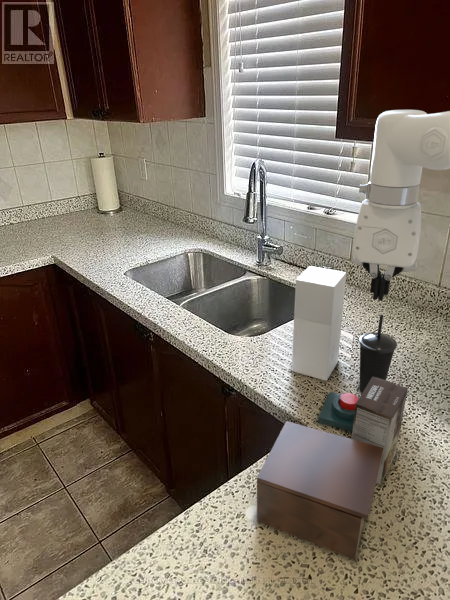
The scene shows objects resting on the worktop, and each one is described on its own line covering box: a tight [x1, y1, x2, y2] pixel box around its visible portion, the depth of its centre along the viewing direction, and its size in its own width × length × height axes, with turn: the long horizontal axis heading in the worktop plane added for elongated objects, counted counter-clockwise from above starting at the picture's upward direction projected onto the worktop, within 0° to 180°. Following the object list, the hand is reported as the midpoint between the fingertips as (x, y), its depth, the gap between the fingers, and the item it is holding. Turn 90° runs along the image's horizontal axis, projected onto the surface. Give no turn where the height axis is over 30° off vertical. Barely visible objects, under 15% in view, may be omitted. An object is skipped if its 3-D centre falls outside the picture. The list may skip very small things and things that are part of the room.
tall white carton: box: [291, 265, 347, 382], centre depth 104 cm, size 9×9×25 cm
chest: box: [256, 481, 366, 561], centre depth 72 cm, size 16×14×10 cm
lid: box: [256, 420, 384, 520], centre depth 70 cm, size 16×14×1 cm
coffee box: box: [351, 377, 409, 485], centre depth 79 cm, size 9×6×16 cm
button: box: [340, 392, 359, 410], centre depth 92 cm, size 4×4×2 cm
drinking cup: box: [358, 314, 398, 394], centre depth 96 cm, size 8×8×20 cm
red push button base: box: [317, 391, 360, 433], centre depth 93 cm, size 10×9×4 cm
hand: (378, 296), depth 79 cm, fingers closed
